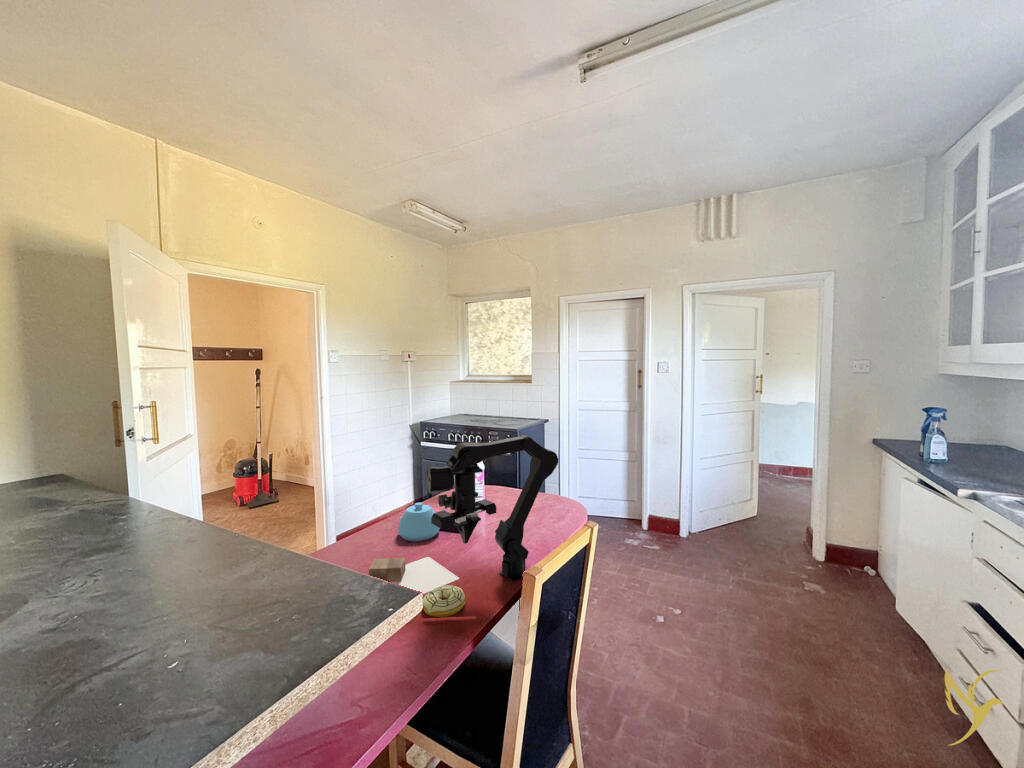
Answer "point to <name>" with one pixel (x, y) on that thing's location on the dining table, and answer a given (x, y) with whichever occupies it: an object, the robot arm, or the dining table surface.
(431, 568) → the rubber mat
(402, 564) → the walnut block
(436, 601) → the decorated donut
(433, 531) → the sugar bowl
